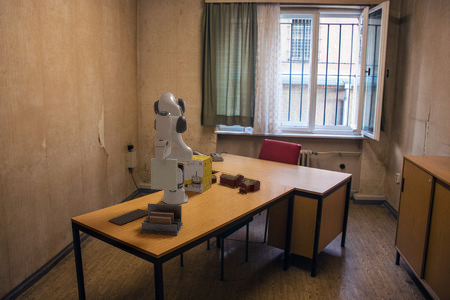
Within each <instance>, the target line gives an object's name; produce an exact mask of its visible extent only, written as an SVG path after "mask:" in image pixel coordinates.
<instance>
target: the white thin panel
mask: <svg viewBox="0 0 450 300" xmlns="http://www.w3.org/2000/svg"><path fill="white" fill-rule="evenodd" d="M177 168H178V163H177V159H165V165H164V166H162V165H161V160H156V157H151V158H150V190H158V191H159V190H162V191H164V190H177Z"/></svg>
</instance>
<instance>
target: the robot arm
mask: <svg viewBox="0 0 450 300" xmlns="http://www.w3.org/2000/svg"><path fill="white" fill-rule="evenodd" d="M152 106H153V107H152V108H153V112H154V114H155V116H156V117H155V119H154V122H153V123H154V124H153V125H154V128H153V129H154V130H155V131H156V132H155V141H154V142H153V145H154V152H155V158H156V160H161V165H162V166H164V165H165V159H177V164H179V163H180V164H181V163H184V162H188V161H191V159H192V158H193V155H194V151H193V150H192V148H191V147H190V146H188V145H187V144H186V143H185V141H184V140H183V136H182V134H184V133H185V132H186V131H187V129H188V121H187V119H186V117H185V114H184V113H185V112H186V109H187V103H186V101H185V99H184V98H176V97H175V95H174V94H173V93H171V92H169V91H168V92H163V93H162V94H161V95H160V98H159V99H158V100H155V101H154V103H153V105H152ZM172 144H173V146H172ZM185 192H186V190H185V189H184V179H183V170H182V169H181V168H179V167H177V190H163V197H162V198H161V200H160V202H164V203H165V204H167V205H180V204H184V203H185V204H186V203H188V202H189V196H188V194H186V193H185Z"/></svg>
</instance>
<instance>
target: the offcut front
mask: <svg viewBox="0 0 450 300" xmlns="http://www.w3.org/2000/svg"><path fill="white" fill-rule="evenodd" d="M149 223H160V224H171V217H157V216H150V217H149Z"/></svg>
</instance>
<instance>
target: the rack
mask: <svg viewBox="0 0 450 300" xmlns="http://www.w3.org/2000/svg"><path fill="white" fill-rule="evenodd" d="M182 208H183V206H182V205H180V204H167V203H165V204H163V203H147V211H148V216H145V219H144V220H143V221H142V222H141V229H140V230H139V233H140V234H146V235H147V234H148V235H163V236H174V237H175V236H178V235H179V233H180V231H181V229H182V228H183V226H184V225H183V221H182V217H183V215H182V213H183V212H182V211H183V209H182ZM151 212H162V213H174V222H173V221H171V224H160V223H149V217H150V213H151Z"/></svg>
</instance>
